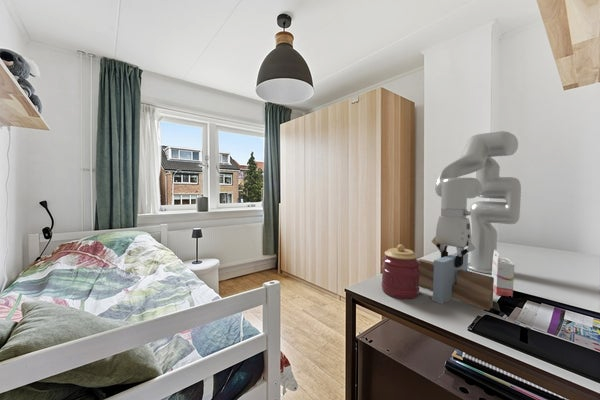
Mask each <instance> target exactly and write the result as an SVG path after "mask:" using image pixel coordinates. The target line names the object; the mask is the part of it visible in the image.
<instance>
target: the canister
mask: <svg viewBox="0 0 600 400" xmlns="http://www.w3.org/2000/svg"><path fill="white" fill-rule="evenodd" d="M418 256H419V255H418V254H417V253H415V252H414V250H411V249H409V248H405V245H403V244H401V243H400V244H398V245H397V246H396V247H391V248H388V249H387V250H386V251H384V256H383V257H382V258H381V260H382V263H383V264H382V266H381V271H382V273H381V274H382V275H381V289H382V292H383V293H384V294H386V295H387V296H391V297H393V298H398V299H404V300H409V299H410V300H411V299H415V298H417V297H418V296H419V294H420V286H419V273H420V271H419V269H418V266H419V265H420V261H419V259H418Z"/></svg>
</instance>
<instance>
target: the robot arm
mask: <svg viewBox="0 0 600 400" xmlns="http://www.w3.org/2000/svg"><path fill="white" fill-rule="evenodd" d="M518 149H519V140H518V138H517V136H516V135H515V134H513V133H511V132H509V131H506V130H505V131H503V130H502V131H501V130H500V131H493V132H485V133H479V134H475V135H472V136H470V137H469V138H468V140H467V142H466V144H465V146H464V149H463V150H462V153H461V155H460V157H459V158H458V159H456V160H455V161H453V162H451V163H449V164H448V165H447V166H445V167H444V168H443V169H442V170H441V171H440V173H439V176H438V178H437V179H436V182H435V186H434V190H435V193H436V196H438V197H440V198H441V199H440V203H441V204H440V216H439V217H438V220H437V223H436V229H435V236H434V238H432V240H431V243H432V244H433V245H435V246H436V248H437V249H438V250H439V252H440V258H442V257H445V256H448V255H449V252H448V246H450V247H455V248H456V253H457V256H456V262H455V267H457V268H458V267H461V266H462V265H463V255H465V254H469V253H470V262H468V268H467V269H468V270H471V271H473V272H476V273H483V274H489V275H490V274H491V275H492V264H493V254H494V250H496V251H497V249H498V232H497V230H496V227H494V226H493V224H499V225H500V224H502V225H515V224H517V223H519V222H518V221H519V220H520V216H521V214H520V213H521V201H522V200H521V197H522V195H521V194H522V184H521V181H520V179H518V178H517V177H513V176H505V177H504V176H501V177H500V170H501V169H500V167H501V166H500V164H499V162H497V160H496V159H494V158H493V157H495V158H496V157H505V156H506V157H507V156H509V157H510V156H513V155H515V153H516V152H517V151H518ZM475 172H476V173H475ZM473 173H475V177H462V176H466V175H470V174H473ZM477 197H478V198H481V199H482V198H483V199H496V200H497V199H501V200H505V202H504V201H489V200H488V201H485V200H481V201H475V202H473V203H472V204H471V205H470V207H469V210H468V209H467V205H468V199H475V198H477ZM467 216H470V218H469V217H467ZM470 220H471V221H470ZM466 247H467V248H466ZM495 256H496V257H497V255H495Z"/></svg>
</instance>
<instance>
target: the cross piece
mask: <svg viewBox="0 0 600 400" xmlns="http://www.w3.org/2000/svg"><path fill="white" fill-rule="evenodd" d="M456 256H457V252H455V253H452V254H448V256H445V257H442V258H441V257H439V258H436V259H434V260H433V262H434V277H433V291H432V301H433V302H436V303H438V304H441V305H443V304H444V303H446V302H448V301H450V300H452V298H451V297H452V285H453V284H455V283H456V282H457V271H458V270H460V269H463V270H466V271H468V269H469V268H468V263H469V253H467V254H465V255H463V265H462V266H461V267H458V268H457V267H455V262H456Z"/></svg>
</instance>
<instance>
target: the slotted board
mask: <svg viewBox="0 0 600 400" xmlns="http://www.w3.org/2000/svg"><path fill="white" fill-rule="evenodd" d="M418 260H419V261H420V265H419V266H418V269H419V271H420V273H419V288H420V287H421V288H424V289H426V290H428V291H431V292H433V277H434V261H431V260H427V259H423V258H419V259H418ZM493 287H494V277H492V276H489V275H485V274H481V273H479V272H475V271H470V270H467V271H466V270H463V269H460V270H458V271H457V282H456V283H455V284H453V285H452V297H451V299H454V300H457V301H460V302H463V303H466V304H468V305H471V306H474V307H477V308H480V309H483V310H484V311H488V312H489V311H491V310H492V309H493V308H492V307H494V305H493V304H494V290H493ZM491 308H492V309H491ZM490 309H491V310H490Z"/></svg>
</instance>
